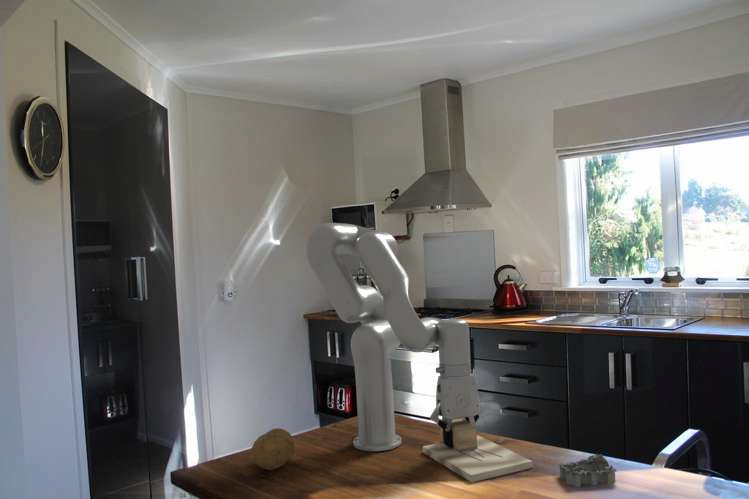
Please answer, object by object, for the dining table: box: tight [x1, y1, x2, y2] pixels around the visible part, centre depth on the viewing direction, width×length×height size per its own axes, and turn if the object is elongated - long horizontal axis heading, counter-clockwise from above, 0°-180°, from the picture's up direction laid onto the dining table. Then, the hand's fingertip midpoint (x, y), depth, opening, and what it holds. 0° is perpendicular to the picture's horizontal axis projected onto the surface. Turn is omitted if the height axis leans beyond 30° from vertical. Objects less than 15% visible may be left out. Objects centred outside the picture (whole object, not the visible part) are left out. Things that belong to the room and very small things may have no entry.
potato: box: [251, 427, 296, 471], centre depth 141 cm, size 10×14×8 cm
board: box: [422, 434, 534, 483], centre depth 138 cm, size 22×16×2 cm
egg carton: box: [557, 453, 618, 488], centre depth 124 cm, size 11×8×4 cm
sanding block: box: [439, 418, 478, 452], centre depth 145 cm, size 9×5×6 cm, turn 23°
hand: (458, 443), depth 145 cm, fingers closed on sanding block, 5 cm apart
